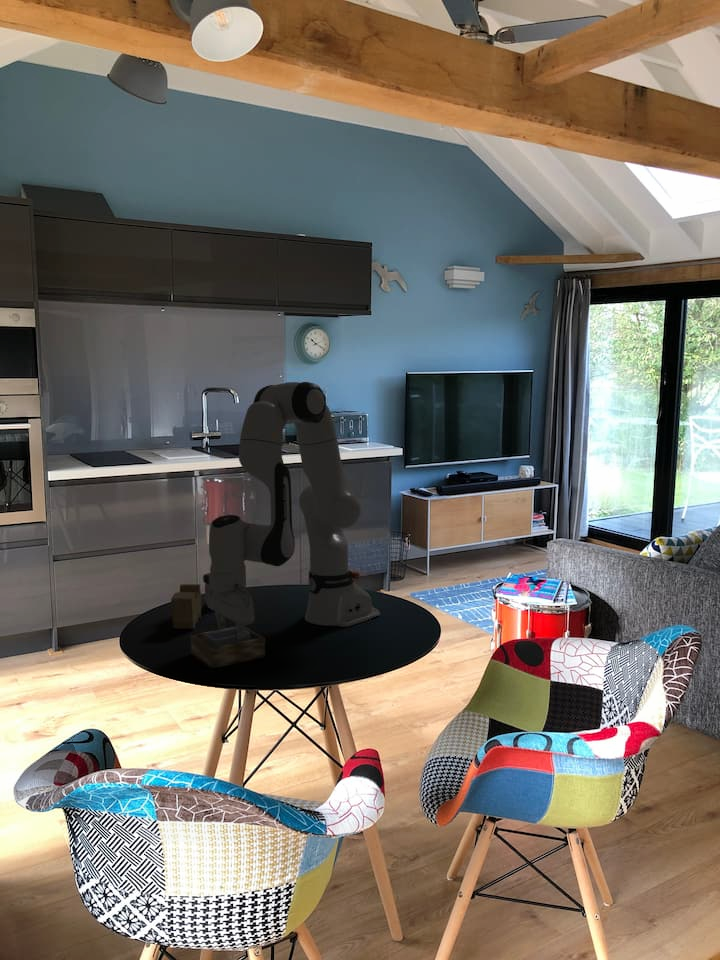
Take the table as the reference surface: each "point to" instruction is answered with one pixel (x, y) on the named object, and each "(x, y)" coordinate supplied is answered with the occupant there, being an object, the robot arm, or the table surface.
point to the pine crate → (227, 650)
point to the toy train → (186, 606)
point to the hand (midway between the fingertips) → (230, 633)
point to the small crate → (224, 637)
